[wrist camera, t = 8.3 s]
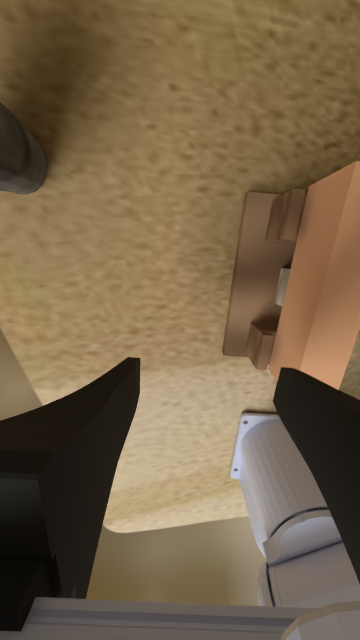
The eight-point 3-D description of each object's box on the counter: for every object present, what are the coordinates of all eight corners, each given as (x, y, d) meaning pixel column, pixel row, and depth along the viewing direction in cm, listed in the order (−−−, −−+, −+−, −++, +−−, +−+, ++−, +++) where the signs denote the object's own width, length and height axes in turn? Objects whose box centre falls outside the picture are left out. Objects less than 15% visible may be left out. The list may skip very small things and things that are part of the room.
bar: (302, 371, 18) (334, 402, 15) (268, 369, 18) (291, 399, 14) (352, 189, 14) (415, 165, 10) (309, 186, 14) (356, 160, 10)
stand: (319, 358, 21) (350, 380, 17) (222, 351, 21) (231, 373, 17) (365, 204, 17) (418, 189, 13) (244, 194, 17) (263, 176, 13)
